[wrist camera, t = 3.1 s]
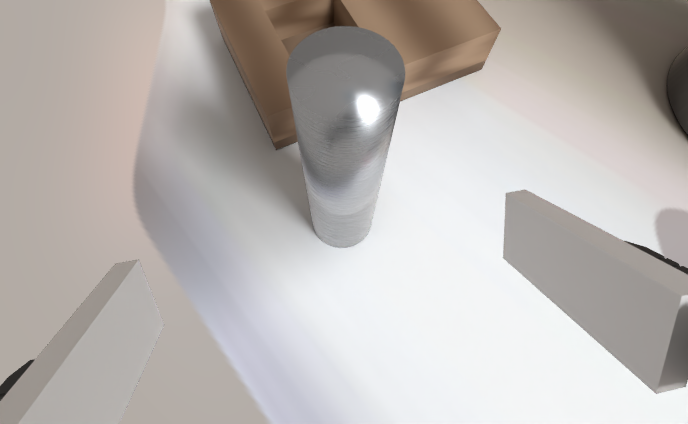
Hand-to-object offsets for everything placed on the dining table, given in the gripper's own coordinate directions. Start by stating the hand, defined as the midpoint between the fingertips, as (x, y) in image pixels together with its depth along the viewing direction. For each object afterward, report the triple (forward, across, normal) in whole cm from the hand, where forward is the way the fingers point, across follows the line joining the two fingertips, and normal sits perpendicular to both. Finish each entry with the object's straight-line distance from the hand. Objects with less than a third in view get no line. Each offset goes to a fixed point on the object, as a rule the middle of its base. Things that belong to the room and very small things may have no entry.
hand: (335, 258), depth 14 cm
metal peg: (+12, +1, -4) cm, 12 cm away
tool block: (+22, +5, +7) cm, 23 cm away
